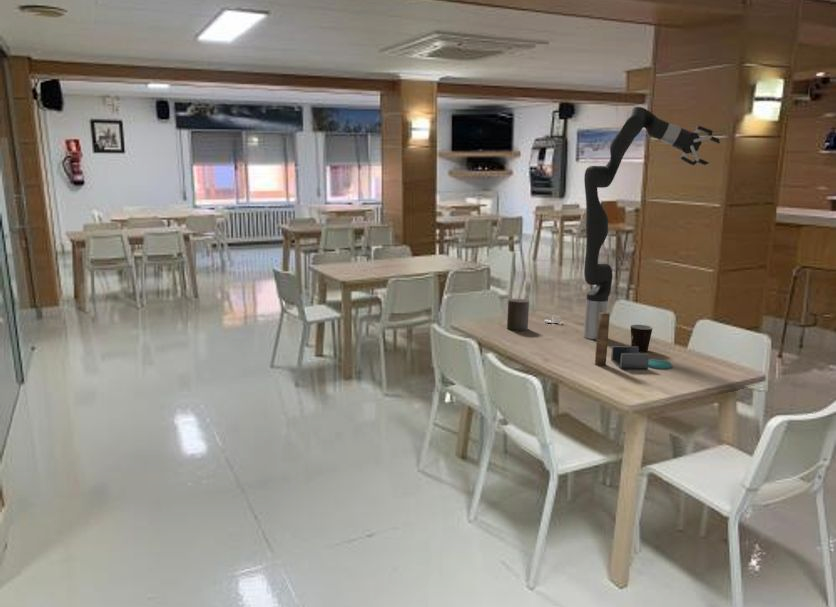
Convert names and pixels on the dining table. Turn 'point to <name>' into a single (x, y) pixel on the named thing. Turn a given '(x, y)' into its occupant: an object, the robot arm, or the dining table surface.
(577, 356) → the dining table surface
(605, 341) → the walnut dowel
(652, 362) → the teal mat
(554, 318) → the teacup and saucer
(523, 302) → the pillar candle
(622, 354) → the metal channel
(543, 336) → the dining table surface
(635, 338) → the coffee mug
